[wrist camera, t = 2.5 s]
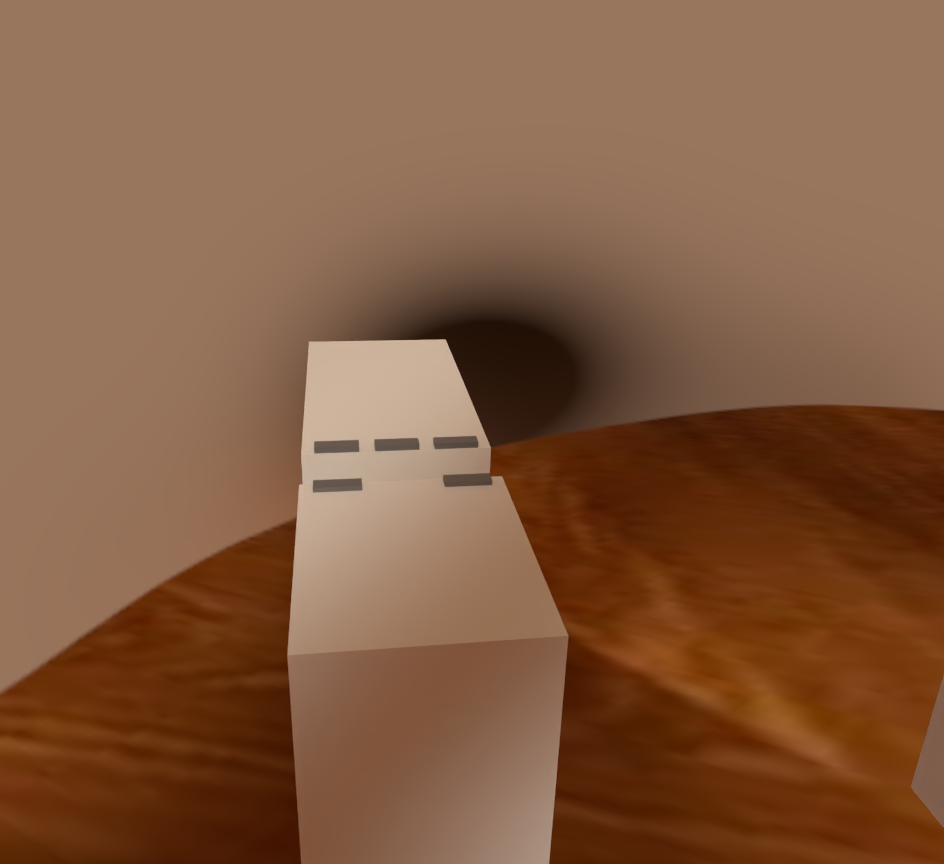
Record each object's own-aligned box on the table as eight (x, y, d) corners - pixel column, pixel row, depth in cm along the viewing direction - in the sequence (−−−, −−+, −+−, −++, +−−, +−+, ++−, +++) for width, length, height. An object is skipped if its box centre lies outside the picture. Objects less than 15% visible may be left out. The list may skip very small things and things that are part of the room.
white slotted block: (442, 570, 44) (446, 335, 39) (480, 740, 33) (492, 442, 28) (316, 577, 43) (305, 337, 38) (313, 754, 32) (295, 449, 27)
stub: (489, 780, 31) (503, 471, 26) (539, 1003, 24) (571, 629, 19) (314, 797, 30) (297, 480, 25) (310, 1033, 23) (284, 649, 18)
